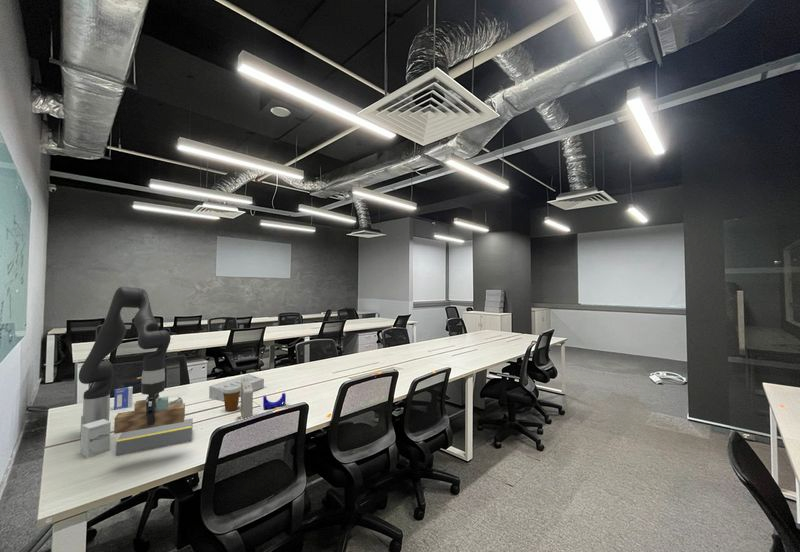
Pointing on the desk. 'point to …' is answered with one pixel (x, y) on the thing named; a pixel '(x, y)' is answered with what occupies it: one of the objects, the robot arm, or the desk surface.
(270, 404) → the blue arch block
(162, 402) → the crate teal
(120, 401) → the walkman
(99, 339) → the robot arm
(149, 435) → the block
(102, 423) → the supplement box
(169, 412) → the brown stepped block
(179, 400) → the food container
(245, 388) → the network device
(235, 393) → the disposable coffee cup
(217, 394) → the warehouse
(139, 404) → the crate kraft
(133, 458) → the desk surface
